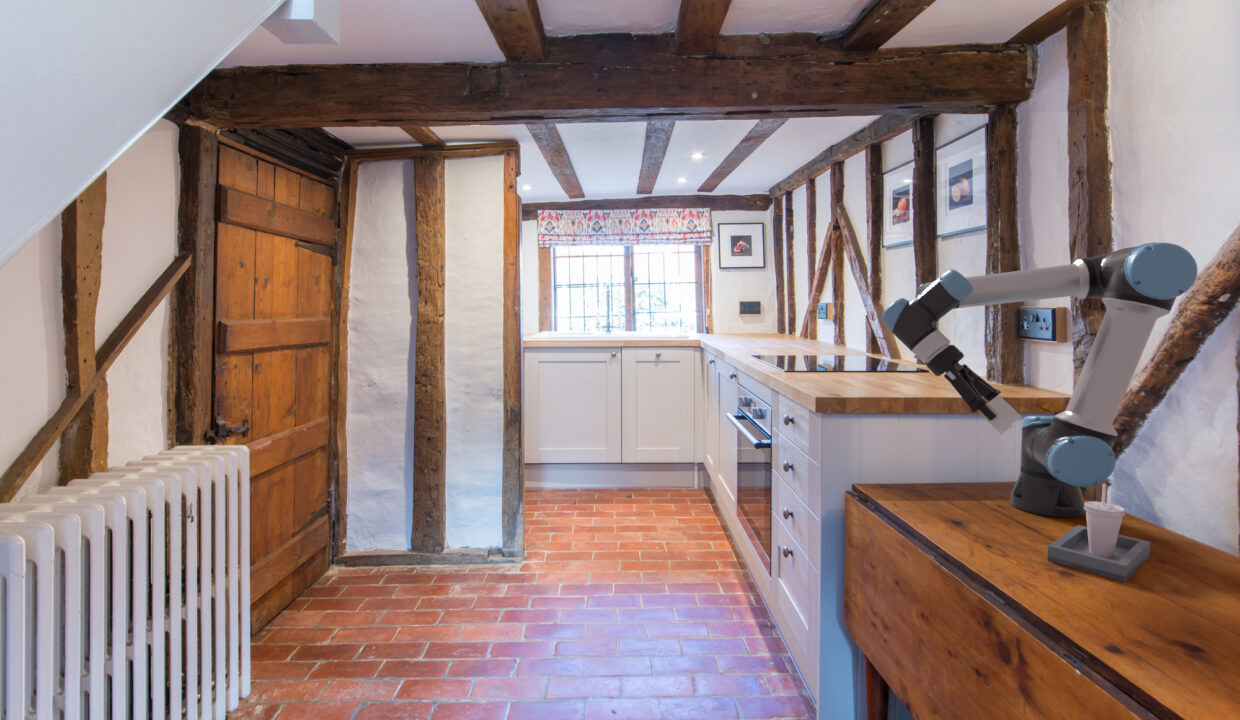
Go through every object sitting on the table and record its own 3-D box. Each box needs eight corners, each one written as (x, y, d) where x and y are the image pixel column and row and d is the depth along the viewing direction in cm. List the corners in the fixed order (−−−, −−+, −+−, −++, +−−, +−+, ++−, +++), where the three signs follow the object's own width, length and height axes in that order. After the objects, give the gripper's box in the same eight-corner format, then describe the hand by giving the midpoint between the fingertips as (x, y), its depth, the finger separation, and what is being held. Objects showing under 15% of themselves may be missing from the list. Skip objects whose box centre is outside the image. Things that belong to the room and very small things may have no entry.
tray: (1076, 538, 129) (1077, 524, 129) (1149, 556, 119) (1150, 541, 119) (1047, 560, 118) (1048, 545, 118) (1124, 582, 108) (1126, 566, 108)
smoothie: (1113, 549, 120) (1118, 481, 119) (1128, 562, 114) (1133, 490, 113) (1075, 545, 122) (1079, 478, 121) (1088, 557, 116) (1092, 487, 115)
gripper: (938, 360, 150) (1005, 426, 142) (911, 369, 132) (987, 446, 123) (962, 340, 147) (1033, 406, 138) (938, 346, 128) (1019, 423, 119)
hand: (1011, 425), depth 131 cm, fingers open, 13 cm apart
